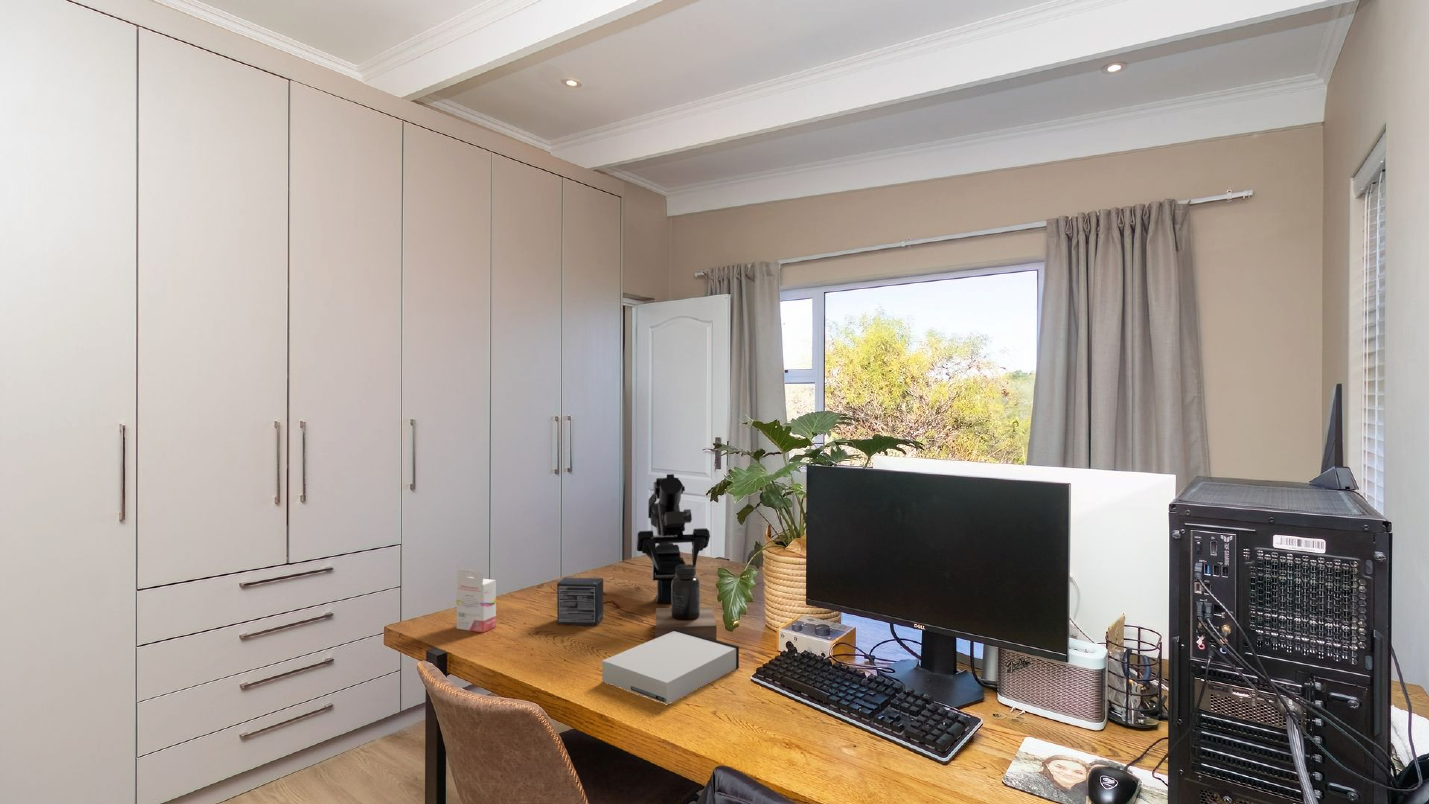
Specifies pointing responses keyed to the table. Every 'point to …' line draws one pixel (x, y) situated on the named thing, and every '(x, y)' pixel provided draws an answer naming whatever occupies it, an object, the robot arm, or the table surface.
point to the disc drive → (670, 665)
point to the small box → (580, 601)
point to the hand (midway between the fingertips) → (676, 568)
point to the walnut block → (687, 623)
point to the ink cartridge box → (475, 601)
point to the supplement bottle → (685, 593)
